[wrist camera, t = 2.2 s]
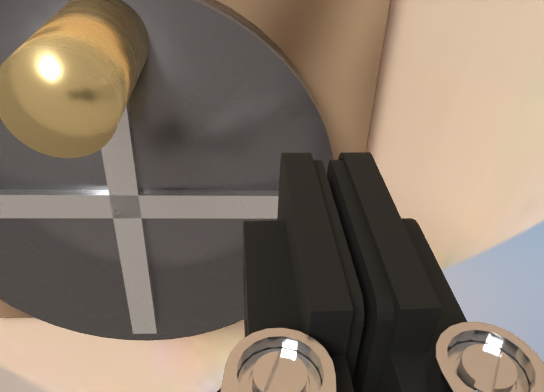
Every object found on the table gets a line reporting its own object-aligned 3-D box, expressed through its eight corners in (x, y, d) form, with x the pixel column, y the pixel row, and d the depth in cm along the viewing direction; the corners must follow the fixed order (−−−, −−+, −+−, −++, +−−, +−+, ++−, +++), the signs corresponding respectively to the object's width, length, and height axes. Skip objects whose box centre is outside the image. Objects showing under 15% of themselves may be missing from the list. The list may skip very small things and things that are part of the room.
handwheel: (310, 295, 30) (331, 435, 23) (-4, 297, 29) (-83, 445, 22) (346, -33, 20) (404, 38, 13) (-133, -47, 19) (-357, 21, 12)
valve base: (394, -94, 21) (407, -88, 19) (335, 296, 33) (340, 319, 32) (-182, -116, 19) (-219, -112, 18) (-17, 299, 32) (-31, 323, 30)
